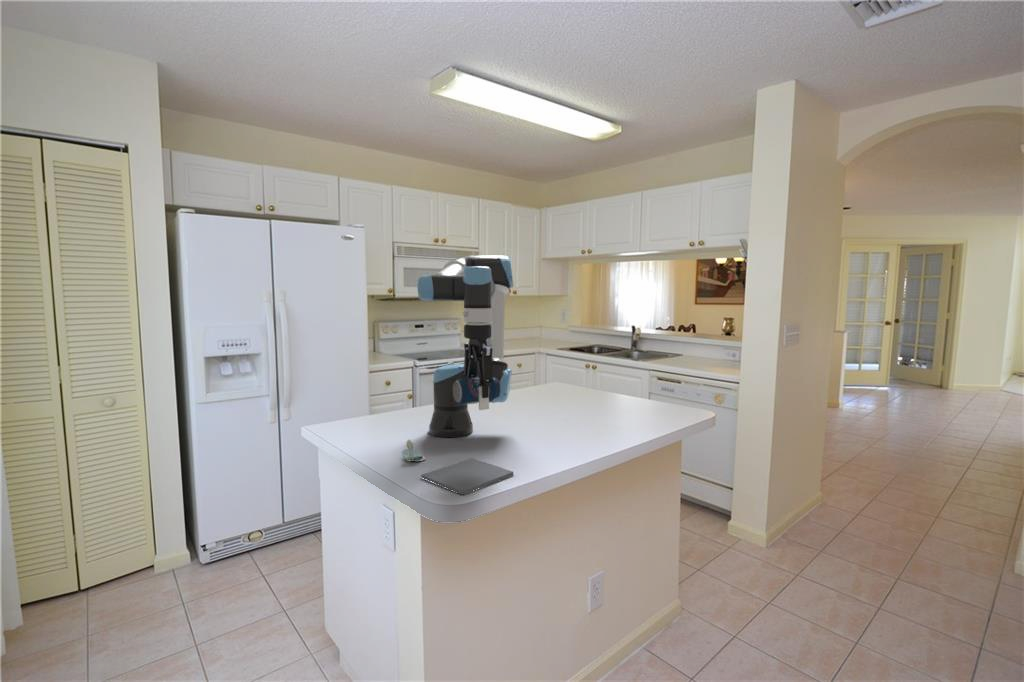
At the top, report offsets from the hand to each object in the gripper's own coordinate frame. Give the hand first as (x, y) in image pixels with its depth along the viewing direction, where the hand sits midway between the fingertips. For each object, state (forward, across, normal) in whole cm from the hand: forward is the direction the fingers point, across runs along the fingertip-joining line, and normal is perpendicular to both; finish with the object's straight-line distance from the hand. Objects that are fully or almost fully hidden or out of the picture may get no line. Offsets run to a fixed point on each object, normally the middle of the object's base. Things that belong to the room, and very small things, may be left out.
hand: (478, 406), depth 137 cm
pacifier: (+17, -12, -15) cm, 26 cm away
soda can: (-5, 0, -7) cm, 8 cm away
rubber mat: (+17, +8, -6) cm, 19 cm away
